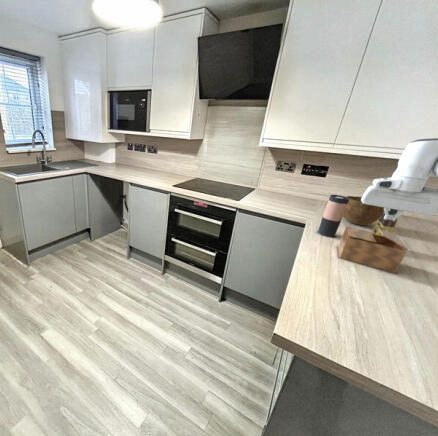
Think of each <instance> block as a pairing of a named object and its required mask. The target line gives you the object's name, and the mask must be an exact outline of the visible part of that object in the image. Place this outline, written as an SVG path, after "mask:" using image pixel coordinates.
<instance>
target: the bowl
mask: <svg viewBox="0 0 438 436" xmlns="http://www.w3.org/2000/svg"><path fill="white" fill-rule="evenodd" d="M346 197H348V198H349V202H348V204H347V207H346V210H345V212H344V215H343V219H344V220H346V221H348V222H350V223H352V224H355V225H359V226H366V225H367V226H368V225H372V224H374V223H377V221H378V219H379V218H380V217H381V216H382V215H383V214H384V213H385V212H384V207H379V206H373V205H368V204H363V203H362V202H361V198H362V196H355V195H354V196H353V195H347V196H346Z"/></svg>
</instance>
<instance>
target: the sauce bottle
mask: <svg viewBox="0 0 438 436" xmlns="http://www.w3.org/2000/svg"><path fill="white" fill-rule="evenodd" d="M396 213H398V212H397V210H396V209H390V211H388V214H389V215H395V214H396ZM384 216H385V212H384V214H383V215H382V216H381V217H380V218H379V219H378V220H377V221H376V222H375V225H374V227H373V229H372V231H371V232H372V234H375V235H380V236H383V235H382V234H381V232H380V230H379V229H378V227H377V225H378V226H380V227H381V228H383V229H385V230H387V231H388V232H390V233H392V234H393V232H394V229H395V227H396V225H397V223H398V219H397V218H398V217H397V218H396V220H395V221H391V220H385V219H384Z"/></svg>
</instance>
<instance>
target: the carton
mask: <svg viewBox="0 0 438 436" xmlns="http://www.w3.org/2000/svg"><path fill="white" fill-rule="evenodd" d="M372 232H373V231H370V230H365V229H361V228H357V227H351V226H345V229H344V231H343V234H342V235H341V238H340V241H339V244H338V246H337V249H338V257H339V259H342V260H346V261H350V262H353V263H357V264H360V265H363V266H368V267H371V268H375V269H377V270H382V271H385V272H389V273H392V274H396V273H397V271H398V269H399V267H400V265H401V263H402V261H403V260H404V258H405V256H406V253H408V250H406V249H404V248H403V247H401V246H399V245H398V244H396V243H394V242H392V241H391V240H389V239H387V238H386V237H384V236H380V235H375V234H372Z"/></svg>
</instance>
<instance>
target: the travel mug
mask: <svg viewBox="0 0 438 436" xmlns="http://www.w3.org/2000/svg"><path fill="white" fill-rule="evenodd" d="M348 202H349V198H348V197H347V196H345V195H340V194H330V195H329V199H328V201H327V203H326V206H325V209H324V212H323V215H322V217H321V220H320V224H319V227H318V230H317V233H318V234H319V235H321V236H323V237H327V238H334V237H335V236H336V234H337V232H338V229H339V227H340V225H341V222H342V220H343V219H344V217H343V215H344V212H345V210H346V207H347V204H348Z"/></svg>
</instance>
